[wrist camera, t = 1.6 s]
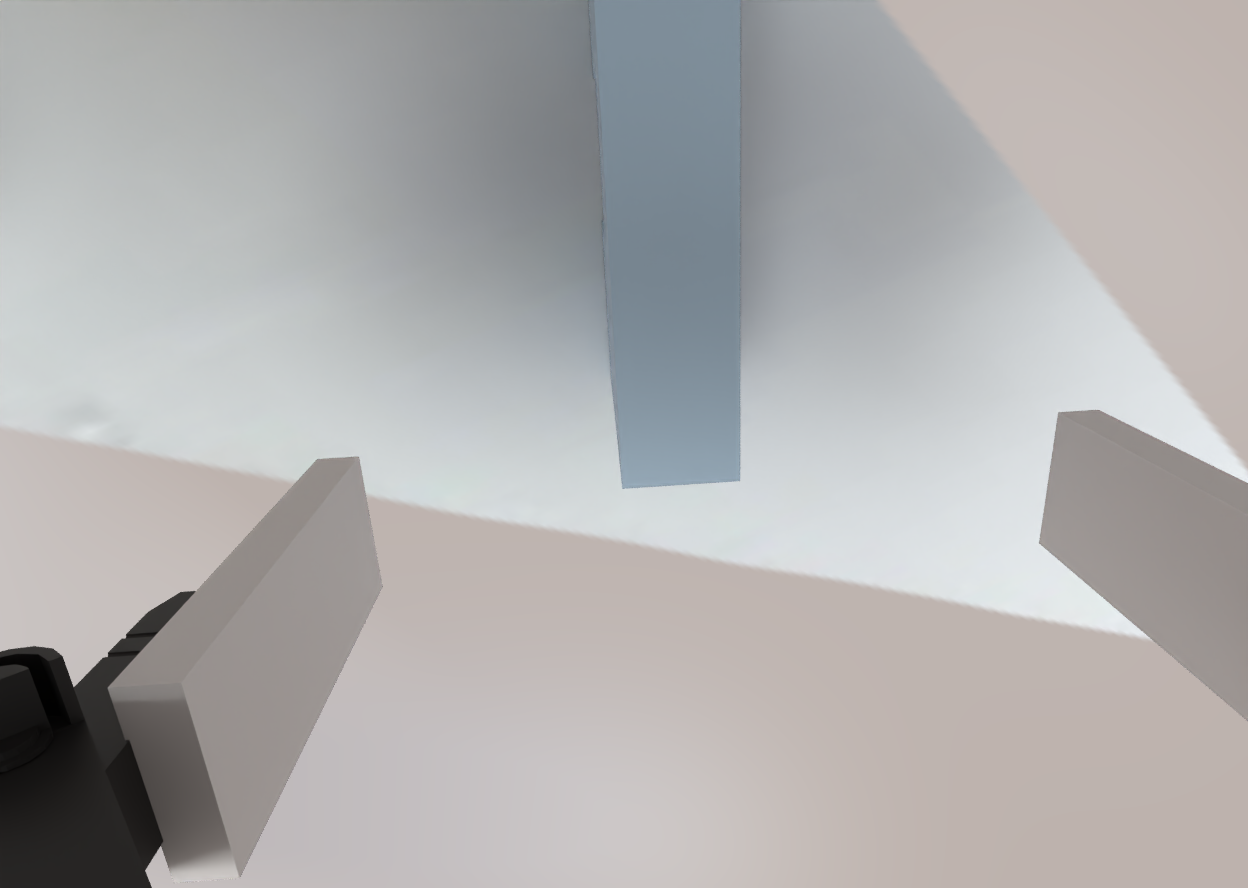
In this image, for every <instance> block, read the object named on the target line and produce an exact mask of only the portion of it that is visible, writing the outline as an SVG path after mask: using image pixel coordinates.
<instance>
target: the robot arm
mask: <svg viewBox="0 0 1248 888" xmlns="http://www.w3.org/2000/svg"><path fill="white" fill-rule="evenodd" d="M1039 543H1040V544H1041V545H1042V546H1043V547H1044V548H1045V549H1047V550H1048V551H1049V552H1050V553H1051V554H1052V555H1054V556H1055V557H1056V558H1057V559H1058V560H1059V561H1061V562H1062V563H1063V564H1064V565H1065V566H1066V567H1068V568H1069V569H1070V570H1071V571H1072V572H1073V573H1075V574H1076V575H1077V576H1078V577H1079V578H1080V579H1082V580H1083V581H1084V582H1085V583H1086V584H1088V585H1089V586H1090V587H1091V588H1092V589H1093V590H1095V591H1096V592H1097V593H1098V594H1099V595H1100V596H1102V597H1103V598H1104V599H1105V600H1106V601H1107V602H1109V603H1110V604H1111V605H1112V606H1113V607H1114V608H1116V609H1117V610H1118V611H1119V612H1120V613H1121V614H1123V615H1124V616H1125V617H1126V618H1127V619H1128V620H1130V621H1131V622H1132V623H1133V624H1134V625H1136V626H1137V627H1138V628H1139V629H1140V630H1141V631H1143V632H1144V633H1145V634H1146V635H1147V636H1148V637H1150V638H1151V639H1152V640H1153V641H1154V642H1155V643H1157V644H1158V645H1159V646H1160V647H1161V648H1163V649H1164V650H1165V651H1166V652H1167V653H1168V654H1169V655H1171V656H1172V657H1173V658H1174V659H1175V660H1177V661H1178V662H1179V663H1180V664H1181V665H1182V666H1184V667H1185V668H1186V669H1187V670H1188V671H1189V672H1191V673H1192V674H1193V675H1194V676H1195V677H1196V678H1198V679H1199V680H1200V681H1201V682H1202V683H1203V684H1205V685H1206V686H1207V687H1208V688H1209V689H1211V690H1212V691H1213V692H1214V693H1215V694H1216V695H1217V696H1219V697H1220V698H1221V699H1222V700H1223V701H1225V702H1226V703H1227V704H1228V705H1229V706H1230V707H1232V708H1233V709H1234V710H1235V711H1236V712H1237V713H1239V714H1240V715H1241V716H1242V717H1243V718H1244V719H1246V720H1247V721H1248V483H1246V482H1244V481H1242V480H1240V479H1238V478H1236V477H1234V476H1232V475H1230V474H1228V473H1226V472H1224V471H1222V470H1220V469H1218V468H1216V467H1214V466H1211V465H1209V464H1207V463H1205V462H1203V461H1201V460H1199V459H1197V458H1195V457H1193V456H1191V455H1189V454H1187V453H1185V452H1183V451H1181V450H1179V449H1177V448H1175V447H1173V446H1171V445H1169V444H1167V443H1165V442H1163V441H1161V440H1159V439H1157V438H1155V437H1152V436H1150V435H1148V434H1146V433H1144V432H1142V431H1140V430H1138V429H1136V428H1134V427H1132V426H1130V425H1128V424H1126V423H1124V422H1122V421H1120V420H1118V419H1116V418H1114V417H1112V416H1110V415H1108V414H1106V413H1104V412H1102V411H1100V410H1089V411H1073V412H1058V418H1057V425H1056V432H1055V439H1054V445H1053V452H1052V459H1051V466H1050V473H1049V479H1048V486H1047V493H1046V500H1045V507H1044V513H1043V520H1042V527H1041V534H1040V541H1039ZM382 587H383V586H382V582H381V576H380V570H379V565H378V560H377V554H376V549H375V543H374V537H373V532H372V526H371V521H370V515H369V510H368V504H367V499H366V493H365V488H364V482H363V477H362V471H361V466H360V460H359V457H345V458H329V459H317V460H316V461H315V462H314V463H313V464H312V466H311V467H310V468H309V469H308V470H307V471H306V472H305V473H304V474H303V475H302V476H301V477H300V479H299V480H298V481H297V482H296V483H295V484H294V485H293V486H292V487H291V489H290V490H289V491H288V492H287V493H286V494H285V495H284V496H283V497H282V498H281V499H280V501H278V503H277V504H276V505H275V506H274V507H273V508H272V509H271V510H270V511H269V512H268V513H267V515H266V516H265V517H264V518H263V519H262V520H261V521H260V522H259V523H258V524H257V526H256V527H255V528H254V529H253V530H252V531H251V532H250V533H249V534H248V535H247V536H246V537H245V539H244V540H243V541H242V542H241V543H240V544H239V545H238V546H237V547H236V548H235V549H234V550H233V552H232V553H231V554H230V555H229V556H228V557H227V558H226V559H225V560H224V562H223V563H222V564H221V565H220V566H219V567H218V568H217V569H216V570H215V571H214V572H213V573H212V574H211V576H210V577H209V578H208V579H207V580H206V581H205V582H204V583H203V584H202V585H201V586H200V588H199V589H198V590H197V591H190V592H180V593H179V594H177V595H175V596H174V597H172V598H170V599H169V600H167V601H165V602H164V603H162V604H160V605H159V606H157V607H156V608H154V609H152V610H151V611H149V612H148V613H147V614H146V615H145V616H144V617H143V618H142V619H141V620H140V621H139V622H138V623H137V624H136V625H135V626H134V627H133V628H132V629H131V630H130V631H129V632H128V633H127V634H126V638H125V639H121V640H120V641H119V642H118V643H117V644H116V645H115V646H114V647H113V648H112V649H111V650H110V651H109V652H108V657H105V658H102V660H100V661H99V663H98V664H97V665H96V666H95V667H94V668H93V669H92V670H91V671H90V672H89V673H88V674H87V675H86V676H85V677H84V678H83V679H82V680H81V681H80V682H79V683H78V684H77V685H76V686H75V687H73V684H72V682H71V679H70V676H69V673H68V670H67V668H66V665H65V662H64V659H63V657H62V656H61V655H60V654H59V653H58V652H57V651H55V650H54V649H52V648H44V647H36V646H33V647H26V648H18V649H10V650H6V651H2V652H0V888H152V887H151V885H150V882H149V880H148V877H147V874H146V872H145V870H146V868H147V866H148V865H149V863H150V862H151V860H152V859H153V857H154V855H155V854H156V852H157V850H158V849H159V847H160V846H161V847H162V850H163V853H164V856H165V858H166V861H167V864H168V867H169V870H170V873H171V876H172V879H173V882H174V883H182V882H196V881H210V880H223V879H237V878H240V877H241V875H242V873H243V871H244V869H245V867H246V864H247V863H248V860H249V858H250V856H251V854H252V852H253V850H254V848H255V846H256V844H257V842H258V840H259V838H260V836H261V834H262V832H263V830H264V828H265V826H266V824H267V822H268V820H269V817H270V815H271V814H272V811H273V809H274V807H275V805H276V803H277V801H278V799H279V797H280V795H281V793H282V791H283V789H284V787H285V785H286V783H287V781H288V779H289V777H290V775H291V773H292V770H293V768H294V766H295V765H296V762H297V760H298V758H299V756H300V754H301V752H302V750H303V748H304V746H305V744H306V742H307V740H308V738H309V736H310V734H311V732H312V729H313V728H314V726H315V723H316V722H317V720H318V718H319V715H320V713H321V711H322V709H323V707H324V705H325V703H326V701H327V699H328V697H329V695H330V693H331V691H332V689H333V687H334V685H335V683H336V681H337V679H338V677H339V674H340V673H341V671H342V668H343V666H344V664H345V662H346V660H347V658H348V656H349V654H350V652H351V650H352V648H353V646H354V644H355V642H356V640H357V638H358V636H359V634H360V631H361V630H362V628H363V626H364V624H365V622H366V619H367V618H368V615H369V613H370V611H371V609H372V607H373V605H374V603H375V601H376V599H377V597H378V595H379V593H380V591H381V589H382Z"/></svg>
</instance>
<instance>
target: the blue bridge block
mask: <svg viewBox="0 0 1248 888" xmlns="http://www.w3.org/2000/svg"><path fill="white" fill-rule="evenodd" d="M588 1H589V18H590V34H591V51H592V68H593V78H595V82H596V98H597V115H598V132H599V149H600V166H601V183H602V199H603V216H604V221H602V233H603V250H604V266H605V283H606V300H607V316H608V333H609V349H610V366H611V381H612V391H613V401H614V411H615V421H616V430H617V440H618V450H619V460H620V469H621V479H622V489H625V488H640V487H656V486H671V485H686V484H701V483H716V482H732V481H740V0H588Z"/></svg>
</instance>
